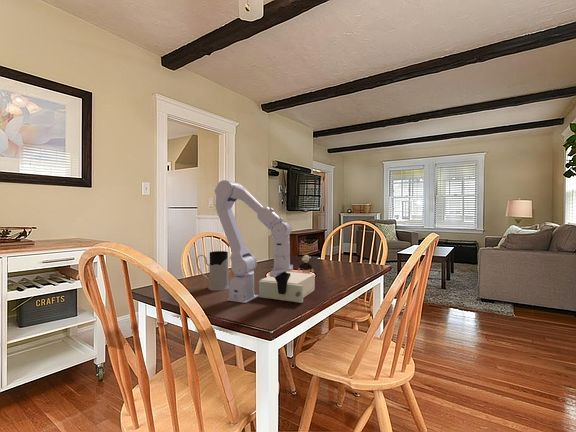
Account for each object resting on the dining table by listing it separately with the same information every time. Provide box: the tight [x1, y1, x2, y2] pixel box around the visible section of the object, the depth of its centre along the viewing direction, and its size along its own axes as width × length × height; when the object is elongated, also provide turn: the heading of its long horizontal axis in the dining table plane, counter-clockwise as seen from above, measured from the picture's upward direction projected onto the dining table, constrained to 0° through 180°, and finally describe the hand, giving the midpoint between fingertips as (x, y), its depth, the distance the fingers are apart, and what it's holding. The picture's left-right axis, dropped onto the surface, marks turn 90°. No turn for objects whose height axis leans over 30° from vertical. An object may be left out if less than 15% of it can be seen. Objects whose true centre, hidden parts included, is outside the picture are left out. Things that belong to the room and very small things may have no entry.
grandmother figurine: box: [297, 254, 315, 274], centre depth 141 cm, size 8×4×13 cm, turn 74°
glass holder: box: [196, 250, 229, 291], centre depth 134 cm, size 9×14×15 cm, turn 81°
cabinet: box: [259, 271, 316, 299], centre depth 125 cm, size 18×15×6 cm
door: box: [258, 280, 304, 304], centre depth 115 cm, size 2×17×6 cm, turn 65°
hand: (282, 293), depth 114 cm, fingers closed, pressing on door
